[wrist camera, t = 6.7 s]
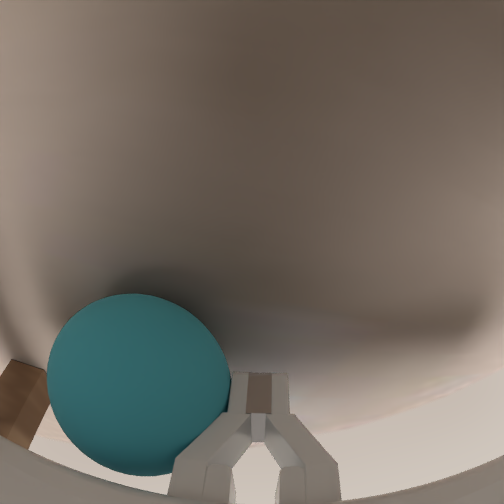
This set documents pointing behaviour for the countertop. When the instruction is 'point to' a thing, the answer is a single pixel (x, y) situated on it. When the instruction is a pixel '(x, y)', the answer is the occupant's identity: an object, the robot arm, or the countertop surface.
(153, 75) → the countertop surface
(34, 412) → the bridge
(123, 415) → the ball
